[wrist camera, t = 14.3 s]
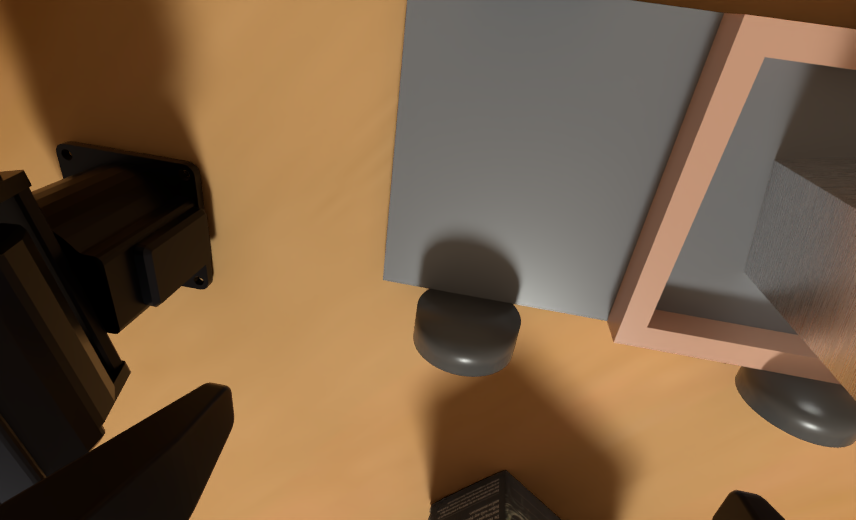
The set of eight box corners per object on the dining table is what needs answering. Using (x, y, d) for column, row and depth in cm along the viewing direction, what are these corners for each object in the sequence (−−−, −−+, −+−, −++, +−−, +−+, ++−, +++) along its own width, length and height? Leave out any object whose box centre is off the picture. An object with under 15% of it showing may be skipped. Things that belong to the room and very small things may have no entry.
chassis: (385, 297, 23) (360, 356, 19) (420, -86, 16) (392, -113, 12) (859, 384, 22) (935, 467, 18) (1148, 8, 14) (1386, 11, 10)
